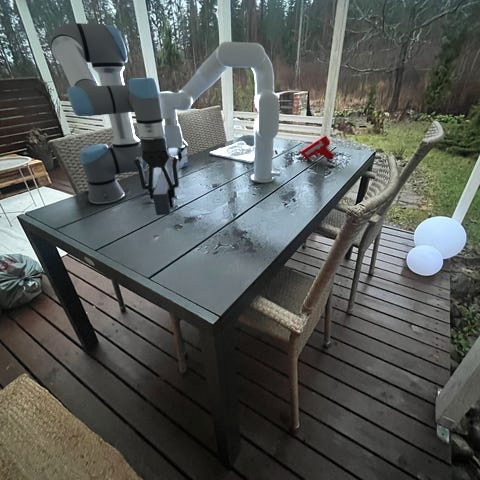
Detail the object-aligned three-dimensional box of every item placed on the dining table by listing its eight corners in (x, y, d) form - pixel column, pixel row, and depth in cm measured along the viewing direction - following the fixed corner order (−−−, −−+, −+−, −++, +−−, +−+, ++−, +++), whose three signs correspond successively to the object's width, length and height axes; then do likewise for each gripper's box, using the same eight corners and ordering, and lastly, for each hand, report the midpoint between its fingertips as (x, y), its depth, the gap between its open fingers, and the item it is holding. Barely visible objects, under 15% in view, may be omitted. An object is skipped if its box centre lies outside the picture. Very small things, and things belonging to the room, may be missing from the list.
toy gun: (337, 154, 172) (326, 134, 168) (337, 156, 169) (325, 135, 165) (312, 169, 182) (300, 150, 178) (311, 171, 179) (299, 152, 175)
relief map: (251, 162, 170) (251, 154, 168) (209, 154, 188) (209, 146, 185) (273, 153, 189) (273, 145, 186) (233, 146, 206) (233, 139, 204)
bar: (171, 161, 142) (169, 147, 138) (180, 161, 142) (178, 147, 138) (156, 215, 91) (152, 194, 87) (169, 214, 91) (166, 194, 87)
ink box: (184, 164, 169) (181, 144, 163) (188, 165, 166) (186, 146, 160) (172, 167, 164) (169, 147, 158) (176, 169, 161) (174, 148, 155)
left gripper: (119, 140, 78) (136, 212, 91) (180, 138, 80) (189, 209, 93) (125, 135, 85) (140, 203, 97) (182, 133, 86) (190, 200, 99)
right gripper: (149, 123, 123) (156, 163, 132) (187, 122, 124) (191, 162, 134) (152, 121, 129) (158, 159, 139) (188, 120, 131) (192, 158, 140)
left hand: (164, 206), depth 95 cm, fingers closed on bar, 4 cm apart
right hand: (174, 160), depth 136 cm, fingers closed on bar, 4 cm apart
